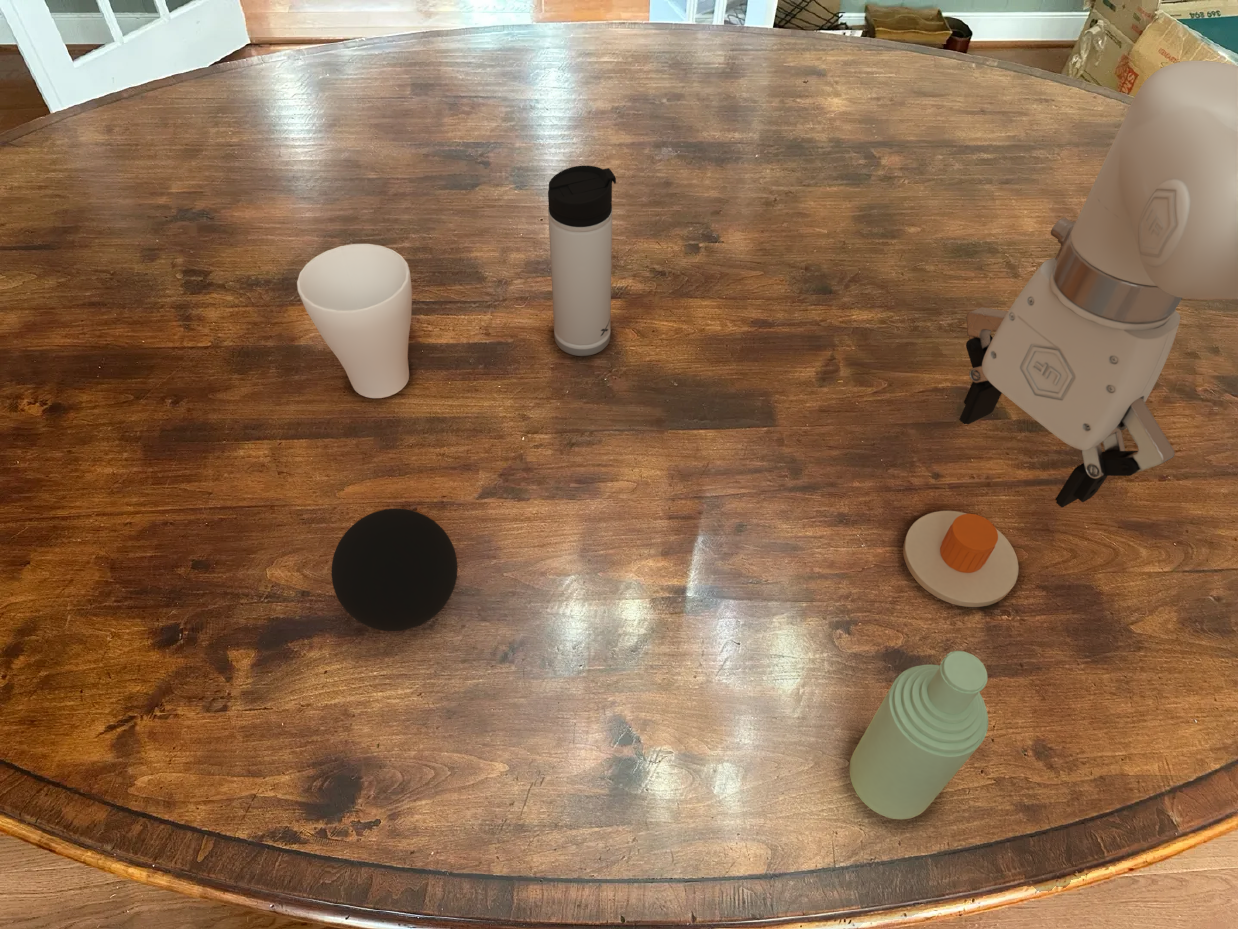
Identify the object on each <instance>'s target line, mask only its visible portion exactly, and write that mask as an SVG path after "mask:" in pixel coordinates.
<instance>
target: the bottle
mask: <svg viewBox="0 0 1238 929" xmlns="http://www.w3.org/2000/svg"><path fill="white" fill-rule="evenodd" d="M987 684H988V672H987V668H986V667H985V665H984V663H983V662H982V661H981V660H980V659H979V658H978V657H977V656H975V655H974V654H972V653H969V652H968V651H963V650H954V651H950V652H949V653H947V654H946V655H945V656H944V658H942V659H941V662H940V665H938V664H930V663H929V664H921V665H915V666H912V667H909V668H907V669H905V670H904V671H902V672H901V673H900V674H899V675H898V676H896V678H895V679H894V681H893V682H892V684H891V686H890V688H889V689H888V691H887V692H886V695H885V696H884V698H883V700H882V702H881V703H880V705H879V707H878V709H877V711H876V712H875V714H874V716H873V717H872V719H871V721H870V723H869V725H868V726H867V728H866V729H865V731H864V733H863V734H862V737H861V738H860V740H859V742H858V743H857V746H856V747H855V749H854V751H853V752H852V755H851V756H850V757H851V758H850V761H849V768H848V769H849V772H848V773H849V778H850V782H851V785H852V787H853V788H852V789H853V790H854V792H855V794H856V795H857V796H858V798H859V799H860V800H861V802H862V803H864V804H865V806H867V807H868V808H869V809H870V810H872V811H873V812H874V813H876V814H877V815H880V816H882V817H885V818H888V819H893V820H901V821H903V820H909V819H912V818H915V817H918V816H919V815H921V814H923V813H924V812H925V811H926V810H927V809H928V808H929V807H930V805H931V804H932V803H933V802H934V801H935V799H936V798H937V797H938V796H939V795H940V793H942V791H943V790H944V788H945V787H946V786H947V785H948V784H949V783H950V781H952V779H953V778H954V777H955V776H956V774H957V773H958V772H959V771H960V770H961V768H963V766H964V765H965V763H966V762H967V761H968V760H969V759H970V758H971V756H973V754H974V753H975V751H976V750H977V749H978V748H979V747H980V746H981V745H982V743H983V742H984V740H985V738H986V736H987V733H988V730H989V713H988V709H987V706H986V705H987V704H986V702H985V699H984V697H983V695H982V694H981V693H980V692H981V691H983V690H984V688H985V687H986V686H987Z"/></svg>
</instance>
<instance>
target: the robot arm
mask: <svg viewBox="0 0 1238 929" xmlns="http://www.w3.org/2000/svg"><path fill="white" fill-rule="evenodd" d="M1133 97H1134V98H1133V100H1132V102H1131V103H1130V105H1129V108H1128V109H1127V112H1126V114H1125V116H1124V118H1123V120H1122V123H1121V124H1120V127H1119V129H1118V131H1117V133H1116V135H1115V137H1114V139H1113V141H1112V143H1111V146H1110V148H1109V150H1108V152H1107V154H1106V156H1105V158H1104V160H1103V163H1102V164H1101V167H1100V169H1099V171H1098V173H1097V175H1096V178H1095V179H1094V181H1093V184H1092V186H1091V188H1090V190H1089V192H1088V194H1087V196H1086V199H1085V201H1084V202H1083V205H1082V208H1081V210H1080V212H1079V214H1078V215H1077V218H1076V220H1074V221H1072V220H1070V219H1069V218H1067V217H1062V218H1059V220H1057V221H1056V222H1055V224H1053V226H1052V228H1051V230H1050V235H1051V237H1054V238H1055V239H1057V242H1058V244H1060V246H1059V247H1060V248H1059V250H1058V252H1057V254H1056V256H1055V257H1051V258H1049V259H1046V260H1045V261H1043V262H1042V264H1040V266H1039V267H1038V268H1037V269H1036V271H1035V272H1034V273H1033V274H1032V275H1031V277H1030V278H1029V279H1028V281H1027V283H1026V284H1025V285H1024V286H1023V288H1022V290H1021V291H1020V292H1019V294H1018V295H1017V297H1016V298H1015V300H1014V301H1013V303H1012V304H1011V305H1010V308H1009V309H1008V310H1002V309H995V308H989V307H982V306H981V307H978V308H976V309H974V310H971V311H969V312H968V313H967V314H966V317H965V318H966V333H967V335H966V336H968V340H967V341H966V343H965V348H966V351H967V354H968V358H969V361H970V364H971V368H970V369H969V372H968V376H969V379H970V380H971V381H972V382H971V385H970V387H969V389H968V391H967V393H966V396H965V397H964V401H963V404H964V408H963V410H962V412H961V413H960V415H959V416H960V417H959V418H958V419H959V421H960V422H961V423H962V424H963V425H970V424H972V423H975V422H976V421H978V420H980V419H983V418H984V417H987V416H988V415H991V413H993V412H994V410H995V408H996V406H997V404H998V402H999V400H1000V397H1001V396H1002V394H1003V395H1004V396H1005V397H1006V398H1008V399H1009V400H1010V401H1011V402H1013V403H1014V404H1015V405H1016V406H1017V407H1018V408H1020V409H1021V410H1022V411H1023V412H1025V413H1026V414H1027V415H1028V416H1030V417H1031V419H1033V420H1034V421H1036V422H1037V423H1038V424H1039V425H1041V426H1042V427H1044V428H1045V429H1046V430H1047V431H1048V432H1049V433H1051V434H1052V435H1053V436H1055V437H1056V438H1058V439H1059V440H1060V441H1062V442H1063V443H1065V444H1066V445H1068V446H1070V447H1072V448H1074V449H1075V450H1079V451H1080V452H1081V456H1082V461H1083V462H1082V463H1081V464H1079V465H1077V466H1076V467H1074V468H1073V470H1072V472H1071V473H1070V475H1069V477H1068V478H1067V480H1066V481H1065V483H1064V484H1063V486H1062V488H1061V489H1060V490H1059V492H1058V494H1057V495H1056V497H1055V503H1056V504H1057V505H1058V506H1059V507H1060V508H1064V507H1067V506H1068V505H1070V504H1071V503H1073V502H1075V501H1077V500H1078V501H1080V502H1081V503H1084V502H1086V501H1088V500H1090V499H1092V497H1094V496H1095V494H1097V493H1098V491H1099V490H1100V488H1101V486H1102V485H1103V483H1104V482H1105V481H1106V479H1107V477H1111V476H1112V477H1131V476H1133V475H1135V474H1138V473H1140V472H1144V471H1147V470H1150V469H1152V468H1155V467H1158V466H1161V465H1162V464H1164V463H1166V462H1167V461H1170V460H1171V459H1173V458H1174V457H1175V456H1176V454H1175V453H1176V452H1175V449H1174V447H1173V445H1172V443H1170V441H1169V440H1168V438H1167V436H1166V435H1165V433H1164V431H1163V429H1162V428H1161V426H1160V425H1159V423H1158V422H1157V420H1156V419H1155V416H1154V415H1153V413H1152V411H1150V409H1149V407H1148V405H1147V404H1146V402H1147V400H1148V398H1149V396H1150V395H1151V393H1152V391H1153V389H1154V388H1155V386H1156V383H1157V381H1158V380H1159V378H1160V375H1161V373H1162V371H1163V368H1164V366H1165V365H1166V362H1167V360H1168V358H1169V355H1170V352H1171V350H1172V348H1173V344H1174V342H1175V339H1176V336H1177V332H1178V329H1179V325H1180V322H1181V319H1182V318H1181V314H1180V313H1179V312H1178V311H1177V310H1176V309H1177V308H1178V307H1179V305H1180V303H1181V301H1182V300H1183V299H1187V300H1200V301H1212V300H1213V301H1214V300H1215V301H1216V300H1238V65H1235V64H1229V63H1227V62H1226V63H1225V62H1219V61H1211V60H1183V61H1179V62H1174V63H1171V64H1168V65H1165V66H1163V67H1161V68H1159V69H1157V70H1156V71H1155V72H1153V73H1152V74H1151V75H1150V76H1148V78H1146V79H1145V80H1144V81H1143V83H1142V84H1141V86H1140V87H1139V89H1138V91H1137V92H1136V94H1135V95H1134V96H1133ZM992 332H995V333H994V335H993V336H992ZM1124 430H1127V431H1128V433H1129V434H1130V436H1131V438H1132V440H1133V441H1134V442H1135V444H1136V446H1137V448H1138V449H1137V450H1126V448H1125V442H1124V438H1123V433H1122V432H1123V431H1124ZM1101 443H1102V444H1103V449H1102V444H1101Z"/></svg>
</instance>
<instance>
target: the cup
mask: <svg viewBox="0 0 1238 929" xmlns="http://www.w3.org/2000/svg"><path fill="white" fill-rule="evenodd" d="M296 289H297V293H298V295H299V298H300V300H301V302H302V304H303V307H304V309H305V311H306V313H307V315H308V317H309V318H310V320H311V321H312V324H314V326H315V328H316V329H317V331H318V333H319V335H320V336H321V338H322V340H323V341H324V343H325V344H326V345H327V347H329V349H330V350H331V352H332V354H334V355H335V357H336V358H337V360H338V362H339V363H340V364H341V366H342V368H343V369H344V371H345V373H346V375H347V378H348V380H349V382H350V384H351V387H352V388H353V390H354V391H355V392H356V393H358V395H360V396H363V397H365V398H370V399H382V398H383V399H384V398H388V397H391V396H393V395H395V394H397V393H399V392H400V391H402V390H403V389H404V388H405V387H406V385H407V384H408V382H409V378H410V368H409V367H410V366H409V359H408V358H409V355H408V354H409V340H410V338H409V337H410V332H411V331H410V330H411V323H412V312H413V311H412V307H413V287H412V278H411V271H410V267H409V263H408V262H407V260H406V259H405V258H404V257H403V256H402V255H401V254H400V253H398V252H397V251H395V250H394V249H392V248H389V247H387V246H383V245H379V244H372V243H351V244H346V245H340V246H337V247H333V248H331V249H327V250H326V251H325V250H324V251H323V252H322V253H319V254H318V255H316V256H314V257H313V258H312V259H310V261H308V262H307V263H305V265H304V267H303V268H302V269H301V271H300V272H299V273H298V277H297V280H296Z"/></svg>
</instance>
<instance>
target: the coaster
mask: <svg viewBox="0 0 1238 929" xmlns="http://www.w3.org/2000/svg"><path fill="white" fill-rule="evenodd" d="M963 514H968V513H966V512H962V511H957V510H939V511H934V512H933V511H932V512H930V513H926V514H925V515H922V516H921V517H920V518H918V519H917V520H915V521H914V522H913V524H911V526H910V527H909V529H908V531H907V532H906V535H905V537H904V540H903V544H902V545H903V546H902V556H903V559H904V562H905V566H906V567H907V569H908V571H909V573H910V575H911V576H912V578H913V579H914V580H915V581H916V582H917V584H919V585H920V587H922V589H924V590H925V591H926V592H928V593H929V594H931V595H932V596H934V597H935V598H937V599H938V600H941V601H944V602H947V603H948V604H952V605H955V606H960V607H964V608H965V607H966V608H982V607H987V606H991V605H993V604H996V603H998V602H1000V601H1001V600H1003V599H1004V598H1006V597H1007V596H1008V595H1009V593H1010V592H1011V590H1012V589H1013V588H1014V586H1015V585H1016V583H1017V581H1018V576H1019V560H1018V557H1017V554H1016V552H1015V549H1014V547H1013V546H1012V544H1011V543H1010V541H1009V540H1008V539H1007V537H1006V536H1005V535H1004V534H1003V533H1002V532H1001V531H1000V530H999V529H997V528H996V530H997V533H998V541H997V543H996V545H995V548H994V549H993V551H992V553H991V554H990V556H989V558H988V559H987V561H986V563H985V564H983V566H982V567H981V569H979V570H978V571H975V572H972V573H963V572H959V571H956V570H954V569H953V568H951V567H950V566H948V565H947V564H946V563H945V562H944V560H943V559H942V556H941V553H940V547H941V545H942V541H943V539H944V537H945V535H946V533H947V532H948V530H949V528H950V526H951V525H952V524H953V522H954V520H955V519H956V518H957V517H958V516H960V515H963Z"/></svg>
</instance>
